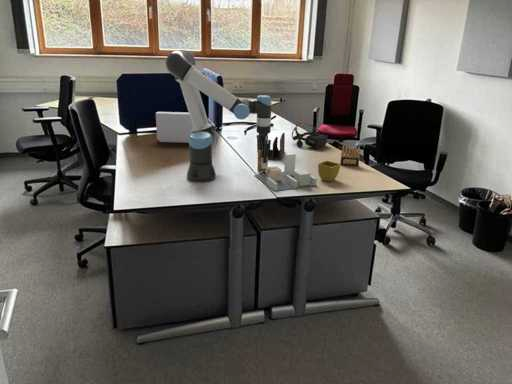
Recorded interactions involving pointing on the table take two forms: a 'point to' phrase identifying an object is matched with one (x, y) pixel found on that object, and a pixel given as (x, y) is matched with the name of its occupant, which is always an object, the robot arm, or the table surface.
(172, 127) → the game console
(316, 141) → the virtual reality headset
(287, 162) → the sage block
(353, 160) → the ammunition clip
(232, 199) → the table surface
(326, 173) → the flower pot
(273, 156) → the letter holder
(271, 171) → the birch block
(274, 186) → the lane rack
